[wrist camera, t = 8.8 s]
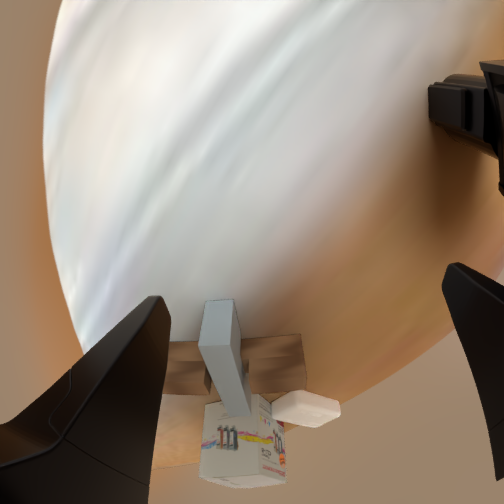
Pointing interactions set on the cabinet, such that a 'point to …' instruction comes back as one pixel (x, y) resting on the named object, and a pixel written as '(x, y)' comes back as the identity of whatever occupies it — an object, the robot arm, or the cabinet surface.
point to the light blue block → (225, 356)
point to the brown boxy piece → (254, 362)
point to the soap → (305, 409)
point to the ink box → (242, 447)
